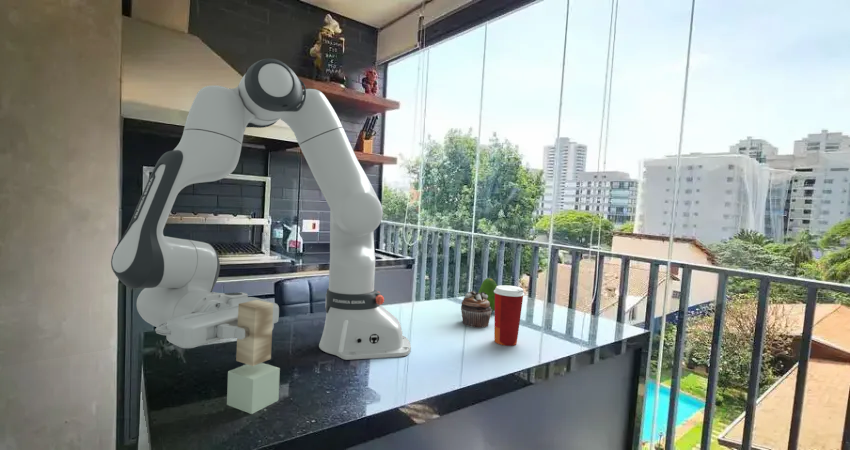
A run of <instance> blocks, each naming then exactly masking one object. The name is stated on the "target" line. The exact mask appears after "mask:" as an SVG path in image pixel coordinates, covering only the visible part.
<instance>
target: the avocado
mask: <svg viewBox="0 0 850 450" xmlns="http://www.w3.org/2000/svg"><path fill="white" fill-rule="evenodd" d="M496 286H498V284H497V282H496V281H495V280H494V279H493V278H491V277H487V278H485V279H484V280H483V281H482V282H481V285H480V287H479V289H478V292H477V293H481V292H485V293H486V295H488V298H487V300H488V301H489V302H490V305H489V306H490V307H491V309H492V312H495V293H494V290H495V288H496Z"/></svg>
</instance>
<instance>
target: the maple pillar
mask: <svg viewBox="0 0 850 450" xmlns="http://www.w3.org/2000/svg"><path fill="white" fill-rule="evenodd" d="M273 303H274V302H273ZM273 303H269V302H265V301H260V300H254V301H249V302H245V303H240V304H239V307H238V327H239V326H245V327H248V328H249V329H250V332H249V337H247V338H244V339H241V340H240V339H237V338H236V354H235V355H236V357H235V358H236V359H235V361H236V362H239V363H242V364H244V365H246V364H248V365H251V366H254V365H257V364H259V363H265V362H267V361H269V360H271V359H272V341H273V330H272V323H273Z"/></svg>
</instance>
